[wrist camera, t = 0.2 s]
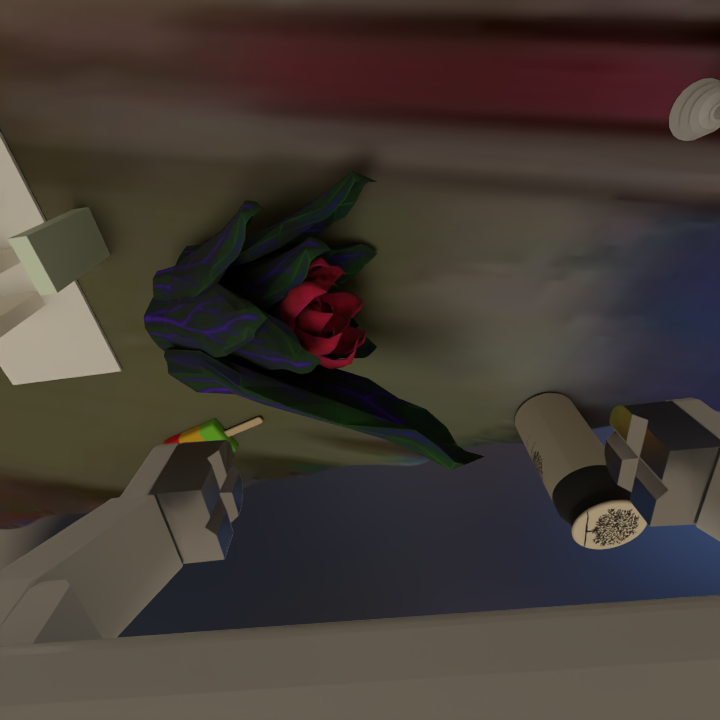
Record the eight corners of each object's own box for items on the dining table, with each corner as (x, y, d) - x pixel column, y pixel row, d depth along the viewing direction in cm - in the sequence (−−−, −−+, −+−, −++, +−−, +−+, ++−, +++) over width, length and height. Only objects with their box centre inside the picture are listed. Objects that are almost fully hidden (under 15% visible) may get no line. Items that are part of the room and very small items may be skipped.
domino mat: (-163, 123, 39) (-168, 123, 39) (-16, 99, 38) (-20, 99, 38) (15, 383, 55) (13, 384, 54) (122, 369, 54) (121, 371, 54)
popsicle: (161, 439, 61) (156, 449, 59) (251, 400, 58) (248, 409, 56) (186, 465, 63) (182, 474, 62) (273, 428, 60) (271, 437, 59)
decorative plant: (232, 209, 53) (488, 185, 45) (247, 414, 57) (484, 428, 49) (82, 164, 33) (490, 106, 25) (122, 482, 37) (483, 523, 29)
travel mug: (578, 389, 57) (662, 499, 42) (566, 434, 62) (638, 549, 46) (518, 393, 57) (579, 503, 42) (510, 438, 62) (563, 553, 46)
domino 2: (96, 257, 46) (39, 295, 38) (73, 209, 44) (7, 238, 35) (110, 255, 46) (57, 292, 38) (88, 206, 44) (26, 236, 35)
